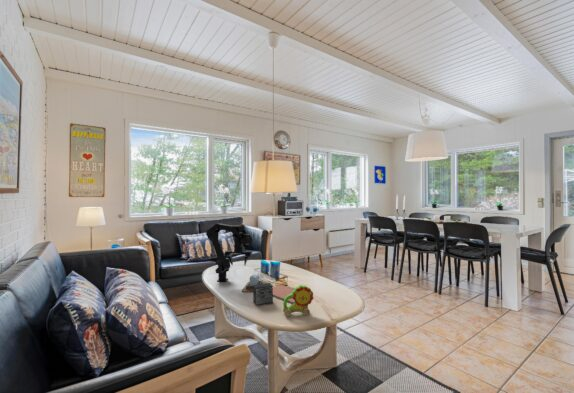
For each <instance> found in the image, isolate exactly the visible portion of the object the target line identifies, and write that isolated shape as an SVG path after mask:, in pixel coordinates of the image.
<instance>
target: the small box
mask: <svg viewBox="0 0 574 393" xmlns="http://www.w3.org/2000/svg"><path fill="white" fill-rule="evenodd" d="M273 288H274V286H273V285H272V283H270V282H267V283H265V284H257V285H253V292H252V293H253V294H252V295H253V297H252V298H253V304H254V306H264V305H270V304H273V303H274V296H273Z"/></svg>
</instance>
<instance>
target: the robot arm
mask: <svg viewBox="0 0 574 393" xmlns="http://www.w3.org/2000/svg"><path fill="white" fill-rule="evenodd" d="M221 230H222V231H226V232H230V233H231V237H233V239H234V240H233V241H234V242H233V247H234V248H233V249H234V251H233V250H231V249H227V250H226V251H225V252H223V249H222V246H221V244H220V241H219V236H220V235H219V233H220V232H221ZM205 234H206V235H205V236H206V237H207V239H208V240H209V241H210V242H211V244H212V247H213V249H214V252H215V255H216V257H217V268H216V269H215V274H218V276H217V277H218V279H217V280H216V282H219V283H220V282H223V283H224V282H225V283H226V282H227V281H228V280H229V278H227V272H230V268H231V266H233V264H234V262H233V261H234V260H233V255H237V256H238V255H242V256H243V255H244V258H243V259H244V260H243V261H244V266H246V264H247V261H248V259H249V258H250V257H252V255H253V250H246V251H245V245H249V246H250V245H251V244H252V243H253V238H252V236H251V234H247V232H246V230H245V228H244V226H243V225H242V224H241V225H240V224H239V225H238V224H237V225H236V224H235V225H231V224H225V223H221V222H217V223H215V224H214V225H213V226H212V227H209V229H207V230H206V233H205Z"/></svg>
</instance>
